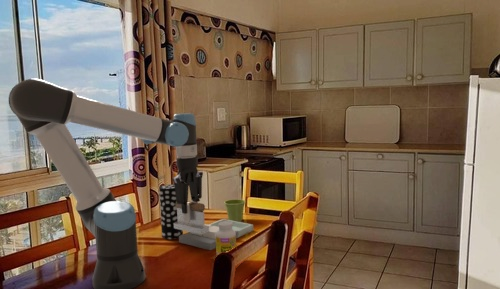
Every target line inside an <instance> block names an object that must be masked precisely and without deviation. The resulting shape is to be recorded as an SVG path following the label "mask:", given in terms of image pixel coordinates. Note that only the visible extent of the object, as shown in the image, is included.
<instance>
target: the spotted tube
mask: <svg viewBox="0 0 500 289" xmlns="http://www.w3.org/2000/svg"><path fill="white" fill-rule="evenodd" d="M158 189H159V190H158V191H159V192H158V193H159V206H160V207H159V208H160V224H161V238H162V239H164V240H174V239H175V240H176V239H179V236H180V235H183V234H184V230H179V229H175V228H174V223H175V222H178V219H177V207H176V206H175V203H176V194H175V186H174V184H164V185H160V186H159V188H158Z"/></svg>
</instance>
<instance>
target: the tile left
mask: <svg viewBox="0 0 500 289" xmlns="http://www.w3.org/2000/svg"><path fill="white" fill-rule="evenodd" d="M205 225H206V226H209V227H212V225H209V224H208V223H205ZM190 233H191V234H195V235H199V236H203V234H202V235H201V234H197V233H192V232H190Z"/></svg>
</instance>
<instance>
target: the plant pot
mask: <svg viewBox="0 0 500 289" xmlns="http://www.w3.org/2000/svg"><path fill="white" fill-rule="evenodd" d="M223 203H224V205H225V208H226V213H227V220H232V221H237V222H243V218H244V207H245V205H246V204H245V203H246V200H244V199H239V198H237V199H236V198H235V199H234V198H233V199H227V200H225V201H224V202H223Z"/></svg>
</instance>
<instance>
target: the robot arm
mask: <svg viewBox="0 0 500 289" xmlns="http://www.w3.org/2000/svg"><path fill="white" fill-rule="evenodd" d="M8 106H9V108H10V110H11V111H12V113H13V114H14V115H15V116H16V117H17V118H18V119H17V120H19V122H20V124H21V125H22V127H23V128H24V130H25V131H26V133H27V134H30V135H34V136H35V137H36V138H37V140H38V141H39V143H40V144H41V146H42V147H43V150H44V151H45V153H46V154H47V155H48V157H49V159H50V161H51V162H52V164H53V165H54V167H55V169H56V170H57V171H58V173H59V175H60V176H61V178H62V180H63V182H64V183H65V184H66V186H67V188H68V189H69V191H70V192H71V194H72V195H73V198H74V199H75V200H76V205H75V210H76V211H77V214H78V216H79V217H80V218H81V220H82V222H83V223H82V224H83V225H84V227H85V228H86V229H87V230H88V231H89V232H90V233H91V235H93V237H94V239H95V246H96V247H95V249H96V263H95V267H94V270H93V271H94V272H93V275H92V278H91V279H92V288H93V289H135V288H136V287H138V286H140V285H141V284H143V283H144V282H145V280H146V272H145V267H144V264H143V263H142V261H141V259H140V256H139V253H138V252H139V251H138V239H137V238H138V237H137V222H136V221H137V214H136V210H135V207H134V206H133V204H131V203H129V202H127V201H122V200H117V199H116V198H115V196H114V194H113V193H112V192H111V190H110V188H106V187H103V186H102V184H101V183H100V181H99V179H98V177H97V176H96V174H95V173H94V171H93V169H92V167H91V166H90V164H89V162H88V161H87V159H86V157H85V155H84V154H83V152H82V151H81V148H80V147H79V146H78V144H77V142H76V141H75V139H74V138H73V135H72V134H71V132H70V130H69V129H68V127H67V124H68V123H73V124H76V125H81V126H85V127H91V128H92V129H93V128H94V129H97V130H98V129H99V130H103V131H107V132H111V133H115V134H119V135H123V136H128V137H134V138H137V139H141V142H142V143H143V144H146V145H149V144H151V145H153V144H161V145H166V146H170V147H173V148H175V156H176V160H175V161H176V167H177V170H178V172H177V175H176V176H173V177H172V179H171V180H172V182H173V185H174V186H175V194H176V201H177V203H178V204H181V205H182V213H183V218H184V222H190V205H189V204H188V201H190V200H191V201H190V202H196V203H200V201H201V200H200V199H202V197H203V196H202V195H203V194H202V193H203V192H202V191H203V190H202V189H203V186H202V185H203V183H202V182H203V175H204V173H203V171H199V170H198V169H197V168H198V166H199V161H198V159H199V158H198V157H197V155H198V146H197V144H198V143H197V122H196V117H195V114H194V113H192V112H191V113H190V112H188V113H186V112H184V113H183V112H182V113H174V115H173V119H169V120H167V119H164V118H160V117H157V116H153V115H150V114H146V113H142V112H138V111H134V110H131V109H127V108H124V107H119V106H116V105H113V104H110V103H106V102H105V103H104V102H102V101H99V100H95V99H90V98H87V97H84V96H79V95H77V94H76V93H75V91H74V90H71V89H69V88H64V87H61V86H58V85H56V84H54V83H51V82H48V81H46V80H44V79H40V78H29V79H25V80H22V81H20V82H19V83H17V84H15V85H14V86H13V87H12V88H11V90H10V91H9V95H8ZM189 193H190V194H189ZM189 195H190V200H189Z"/></svg>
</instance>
